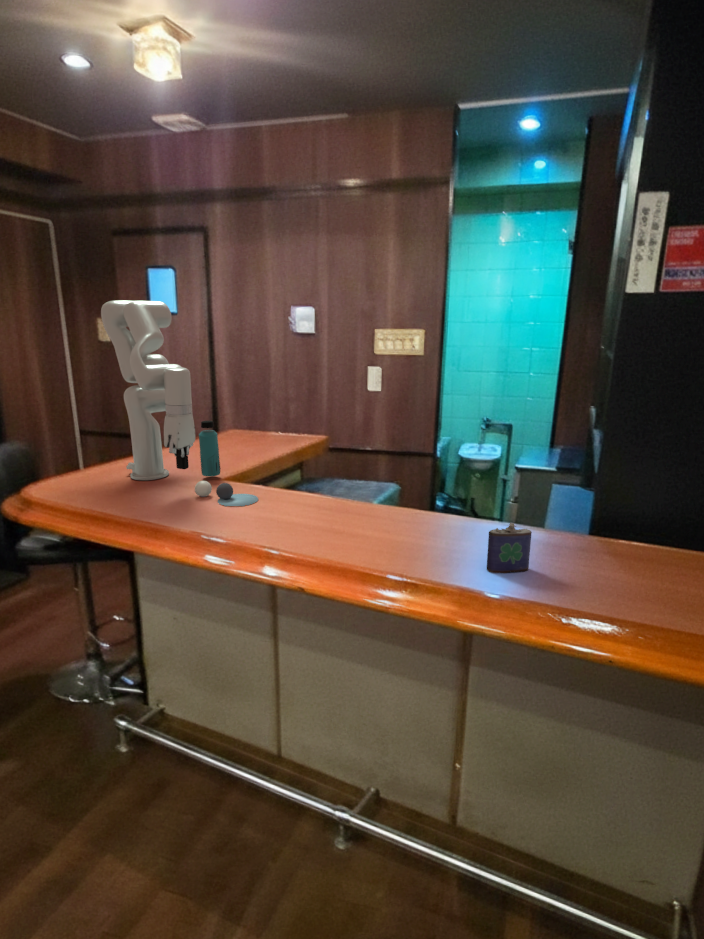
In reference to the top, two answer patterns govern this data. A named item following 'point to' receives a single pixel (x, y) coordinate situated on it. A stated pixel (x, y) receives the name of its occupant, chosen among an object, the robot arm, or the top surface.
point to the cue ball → (203, 488)
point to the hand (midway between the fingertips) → (182, 468)
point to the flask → (508, 550)
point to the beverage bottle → (209, 450)
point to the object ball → (224, 491)
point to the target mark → (239, 500)
